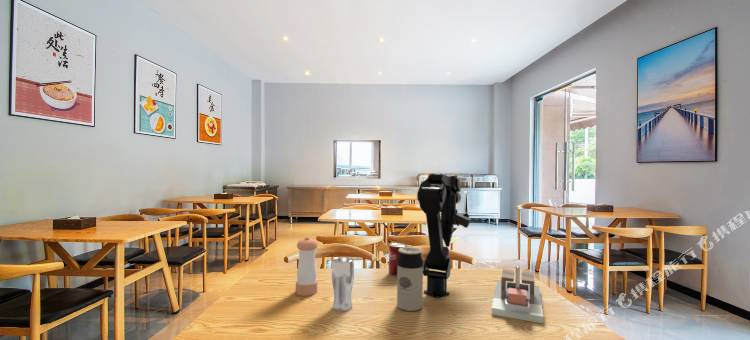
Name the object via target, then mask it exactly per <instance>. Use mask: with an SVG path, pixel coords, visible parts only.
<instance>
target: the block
mask: <svg viewBox="0 0 750 340" xmlns="http://www.w3.org/2000/svg"><path fill="white" fill-rule="evenodd" d="M526 298H527V295H526V290H522V289H515V288H509V289H508V303H510V304H516V305H522V306H526Z"/></svg>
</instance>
